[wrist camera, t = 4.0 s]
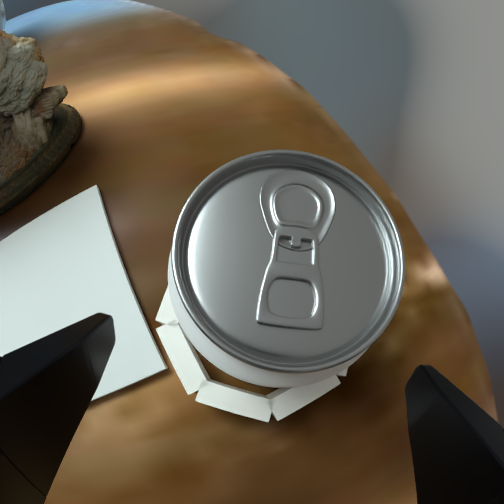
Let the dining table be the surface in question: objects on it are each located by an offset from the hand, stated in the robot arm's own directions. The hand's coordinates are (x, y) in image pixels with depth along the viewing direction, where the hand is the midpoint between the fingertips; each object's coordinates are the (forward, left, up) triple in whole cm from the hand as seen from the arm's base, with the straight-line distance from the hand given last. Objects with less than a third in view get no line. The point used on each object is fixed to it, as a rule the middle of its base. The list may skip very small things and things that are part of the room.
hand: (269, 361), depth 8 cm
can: (+2, -2, -10) cm, 10 cm away
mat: (+9, +11, -10) cm, 18 cm away
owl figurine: (+25, +13, -10) cm, 30 cm away
